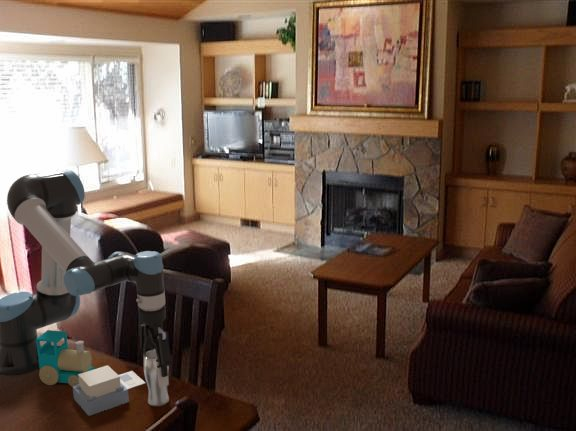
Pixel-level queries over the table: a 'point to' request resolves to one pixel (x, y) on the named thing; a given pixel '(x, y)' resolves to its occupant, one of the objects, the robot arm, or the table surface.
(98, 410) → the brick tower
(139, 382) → the page
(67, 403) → the table surface
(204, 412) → the table surface
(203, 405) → the table surface
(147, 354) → the beer glass
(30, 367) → the robot arm
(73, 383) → the toy train
